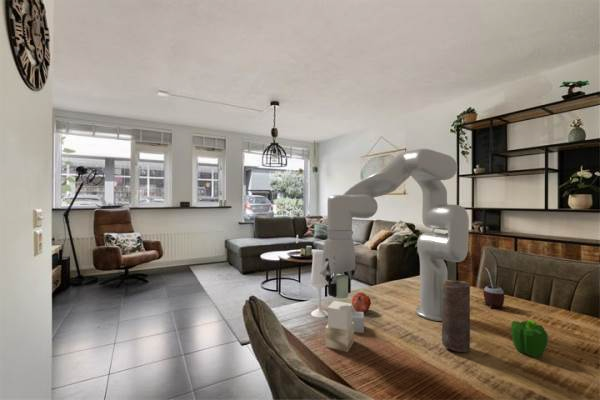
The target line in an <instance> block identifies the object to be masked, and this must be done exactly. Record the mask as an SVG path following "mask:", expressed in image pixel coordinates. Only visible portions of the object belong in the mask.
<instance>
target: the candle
mask: <svg viewBox="0 0 600 400" xmlns="http://www.w3.org/2000/svg"><path fill="white" fill-rule="evenodd" d="M470 305H471V284H470V283H469V282H467V281H463V280H462V281H461V280H450V279H447V281H444V282H443V297H442V321H441V343H442V346H444V347H445V348H446V349H448V350H449V349H450V350H452V351H455V352H458V353H462V352H469V351H470V349H471V347H470V345H471V317H470V316H471V308H470V307H471V306H470Z"/></svg>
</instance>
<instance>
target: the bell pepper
mask: <svg viewBox="0 0 600 400" xmlns="http://www.w3.org/2000/svg"><path fill="white" fill-rule="evenodd" d="M510 335H511V338H512V339H511V340H512V342H513V343H512V344H513V346H514V347H515V349H516V350H517V351H518V352H520V353H523V354H526V355H528V356H530V357H532V358H533V357H534V358H541V357H542V356H543V355H544V353H545V351H546V348H547V345H548V340H549V335H548V333H547V331H546V330H545V328H544V326H543V325H541V324H538V323H537V322H536V321H535V320H532V319H528V320H522V321H516V320H513V321H512V322H511V324H510Z"/></svg>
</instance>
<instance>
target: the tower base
mask: <svg viewBox="0 0 600 400" xmlns="http://www.w3.org/2000/svg"><path fill="white" fill-rule="evenodd" d="M324 327H325V328H324V329H325V330H324V333H325V337H324V339H325V342H324V343H325V345H324V346H325V348H329V349H333V350H337V351H340V352H345V353H348V352H349V351H350V349H351V348H352V345H353V344H354V342H355V332H354V322H352V324H351V326H350V327H349V329H348V330H347V331H344V330H339V329H335V328H330V327H328V324H326V326H324Z"/></svg>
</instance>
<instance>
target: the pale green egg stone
mask: <svg viewBox="0 0 600 400" xmlns="http://www.w3.org/2000/svg"><path fill="white" fill-rule="evenodd" d="M331 278H332V275H331ZM335 284H336V285H337V296H336V297H333V296H331V297H333V298H334V299H342V300H343V299H346V298H348V297H349V293H348V276H347V275H345V274H343V273H338V274H337V276H336V280H335Z"/></svg>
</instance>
